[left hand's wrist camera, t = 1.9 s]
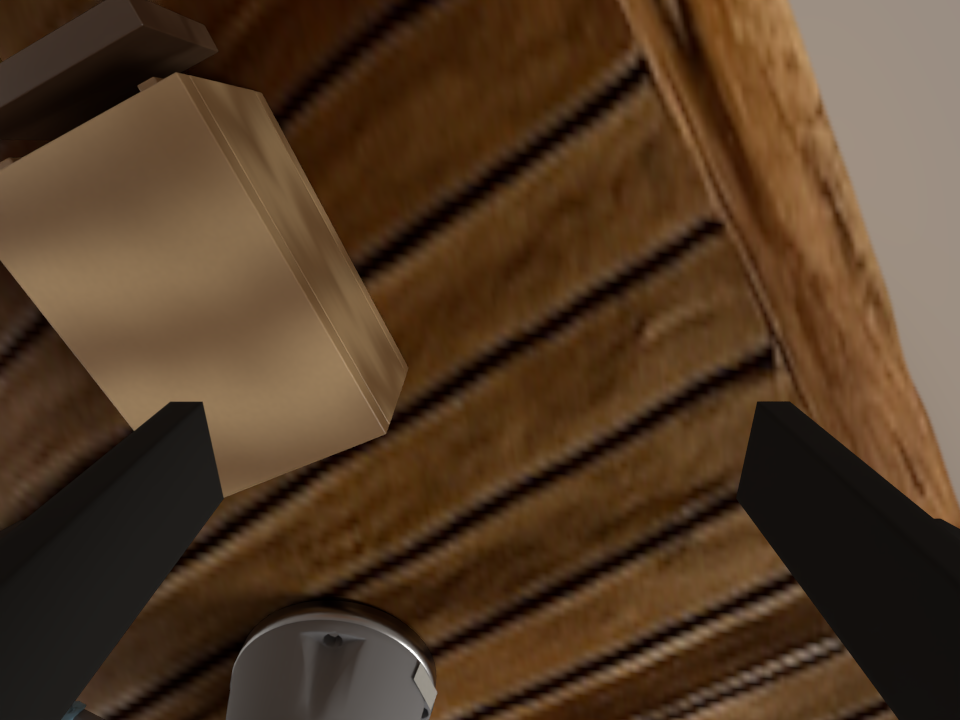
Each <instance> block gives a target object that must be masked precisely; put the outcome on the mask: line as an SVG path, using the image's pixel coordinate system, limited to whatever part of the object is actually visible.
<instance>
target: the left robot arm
mask: <svg viewBox="0 0 960 720" xmlns="http://www.w3.org/2000/svg"><path fill="white" fill-rule="evenodd" d="M223 499H224V497H223V492H222V488H221V483H220V479H219V474H218V469H217V465H216V460H215V456H214V451H213V446H212V442H211V437H210V433H209V428H208V424H207V419H206V414H205V410H204V405H203V402H169V403H168V404H167V405H166V406H164V407H163V408H162V409H161V410H159V411H158V412H157V413H156V414H154V415H153V416H152V417H151V418H150V419H148V420H147V421H146V422H145V423H143V424H142V425H141V426H140V427H138V428H137V429H136V430H135V431H134V432H132V433H131V434H130V435H129V436H127V437H126V438H125V439H124V440H122V441H121V442H120V443H119V444H118V445H116V446H115V447H114V448H113V449H111V450H110V451H109V452H108V453H106V454H105V455H104V456H103V457H102V458H100V459H99V460H98V461H97V462H95V463H94V464H93V465H92V466H91V467H89V468H88V469H87V470H86V471H84V472H83V473H82V474H81V475H79V476H78V477H77V478H76V479H75V480H73V481H72V482H71V483H70V484H68V485H67V486H66V487H65V488H63V489H62V490H61V491H60V492H59V493H57V494H56V495H55V496H54V497H52V498H51V499H50V500H49V501H47V502H46V503H45V504H44V505H43V506H41V507H40V508H39V509H38V510H36V511H35V512H34V513H33V514H32V515H30V516H29V517H28V518H27V519H25V520H24V521H18V522H17V523H15V524H13V525H11V526H9V527H7V528H5V529H4V530H2V531H0V720H105V719H103V718H101V717H99V716H97V715H95V714H93V713H91V712H89V711H87V710H85V709H84V708H85V707H86V705H85V704H83V703H81V702H80V701H75V700H76V699H77V697H78V696H79V695H80V693H81V692H82V691H83V689H84V688H85V687H86V685H87V684H88V682H89V681H90V680H91V678H92V677H93V676H94V674H95V673H96V672H97V670H98V669H99V668H100V666H101V665H102V663H103V662H104V661H105V659H106V658H107V657H108V655H109V654H110V653H111V651H112V650H113V648H114V647H115V646H116V644H117V643H118V642H119V640H120V639H121V638H122V636H123V635H124V633H125V632H126V631H127V629H128V628H129V627H130V625H131V624H132V623H133V621H134V620H135V619H136V617H137V616H138V614H139V613H140V612H141V610H142V609H143V608H144V606H145V605H146V604H147V602H148V601H149V599H150V598H151V597H152V595H153V594H154V593H155V591H156V590H157V589H158V587H159V586H160V584H161V583H162V582H163V580H164V579H165V578H166V576H167V575H168V574H169V572H170V571H171V570H172V568H173V567H174V565H175V564H176V563H177V561H178V560H179V559H180V557H181V556H182V555H183V553H184V552H185V550H186V549H187V548H188V546H189V545H190V544H191V542H192V541H193V540H194V538H195V537H196V535H197V534H198V533H199V531H200V530H201V529H202V527H203V526H204V525H205V523H206V522H207V521H208V519H209V518H210V516H211V515H212V514H213V512H214V511H215V510H216V508H217V507H218V506H219V504H220V503H221V501H222V500H223ZM736 499H737V500H738V501H739V503H740V504H741V506H742V507H743V508H744V510H745V511H746V512H747V514H748V515H749V516H750V518H751V519H752V521H753V522H754V523H755V525H756V526H757V527H758V529H759V530H760V531H761V533H762V534H763V535H764V537H765V538H766V540H767V541H768V542H769V544H770V545H771V546H772V548H773V549H774V550H775V552H776V553H777V555H778V556H779V557H780V559H781V560H782V561H783V563H784V564H785V565H786V567H787V568H788V570H789V571H790V572H791V574H792V575H793V576H794V578H795V579H796V580H797V582H798V583H799V584H800V586H801V587H802V589H803V590H804V591H805V593H806V594H807V595H808V597H809V598H810V599H811V601H812V602H813V604H814V605H815V606H816V608H817V609H818V610H819V612H820V613H821V614H822V616H823V617H824V619H825V620H826V621H827V623H828V624H829V625H830V627H831V628H832V629H833V631H834V632H835V633H836V635H837V636H838V638H839V639H840V640H841V642H842V643H843V644H844V646H845V647H846V648H847V650H848V651H849V653H850V654H851V655H852V657H853V658H854V659H855V661H856V662H857V663H858V665H859V666H860V668H861V669H862V670H863V672H864V673H865V674H866V676H867V677H868V678H869V680H870V681H871V682H872V684H873V685H874V687H875V688H876V689H877V691H878V692H879V693H880V695H881V696H882V697H883V699H884V700H885V702H886V703H887V704H888V706H889V707H890V708H891V710H892V711H893V712H894V714H895V715H896V717H897V718H898V719H899V720H960V529H959V528H957V527H955V526H953V525H951V524H950V523H948V522H946V521H944V520H942V519H933V518H932V517H931V516H930V515H928V514H927V513H926V512H925V511H924V510H922V509H921V508H920V507H919V506H917V505H916V504H915V503H914V502H913V501H911V500H910V499H909V498H908V497H906V496H905V495H904V494H903V493H901V492H900V491H899V490H898V489H897V488H895V487H894V486H893V485H892V484H890V483H889V482H888V481H887V480H885V479H884V478H883V477H882V476H881V475H879V474H878V473H877V472H876V471H874V470H873V469H872V468H871V467H869V466H868V465H867V464H866V463H865V462H863V461H862V460H861V459H860V458H858V457H857V456H856V455H855V454H854V453H852V452H851V451H850V450H849V449H847V448H846V447H845V446H844V445H842V444H841V443H840V442H839V441H838V440H836V439H835V438H834V437H833V436H831V435H830V434H829V433H828V432H826V431H825V430H824V429H823V428H822V427H820V426H819V425H818V424H817V423H815V422H814V421H813V420H812V419H810V418H809V417H808V416H807V415H806V414H804V413H803V412H802V411H801V410H799V409H798V408H797V407H796V406H794V405H793V404H792V403H791V402H757V405H756V410H755V414H754V419H753V424H752V428H751V433H750V437H749V442H748V446H747V451H746V456H745V460H744V465H743V469H742V474H741V479H740V483H739V488H738V492H737V497H736ZM435 686H436V668H435V663H434V660H433V657H432V655H431V653H430V651H429V649H428V647H427V646H426V644H425V643H424V642H423V640H422V639H421V638H420V637H419V636H418V635H417V634H416V633H415V632H414V631H413V630H412V629H411V628H410V627H408V626H407V625H406V624H404V623H403V622H401V621H400V620H398V619H397V618H395V617H393V616H391V615H389V614H387V613H385V612H383V611H380V610H378V609H375V608H372V607H369V606H366V605H362V604H357V603H353V602H346V601H335V600H320V601H310V602H304V603H299V604H295V605H291V606H288V607H285V608H283V609H281V610H278V611H276V612H274V613H272V614H271V615H269V616H267V617H266V618H265V619H263V620H262V621H261V622H260V623H259V624H257V625H256V626H255V627H254V629H253V630H252V631H251V632H250V634H249V635H248V637H247V639H246V641H245V643H244V645H243V647H242V649H241V651H240V653H239V655H238V657H237V660H236V662H235V664H234V667H233V671H232V677H231V683H230V696H229V702H228V708H227V715H226V720H429V718H430V715H431V712H432V710H433V705H434V701H435V698H436V695H437V691H436V689H435Z"/></svg>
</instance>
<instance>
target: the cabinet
mask: <svg viewBox="0 0 960 720" xmlns="http://www.w3.org/2000/svg"><path fill="white" fill-rule="evenodd" d="M0 260H1V262H2V263H3V264H4V265H5V267H6V268H7V269H8V271H9V272H10V273H11V274H12V276H13V277H14V278H15V279H16V281H17V282H18V283H19V285H20V286H21V287H22V288H23V290H24V291H25V292H26V293H27V295H28V296H29V297H30V299H31V300H32V301H33V302H34V304H35V305H36V306H37V308H38V309H39V310H40V311H41V313H42V314H43V315H44V316H45V318H46V319H47V320H48V322H49V323H50V324H51V325H52V327H53V328H54V329H55V330H56V332H57V333H58V334H59V336H60V337H61V338H62V339H63V341H64V342H65V343H66V345H67V346H68V347H69V348H70V350H71V351H72V352H73V353H74V355H75V356H76V357H77V359H78V360H79V361H80V362H81V364H82V365H83V366H84V367H85V369H86V370H87V371H88V373H89V374H90V375H91V376H92V378H93V379H94V380H95V382H96V383H97V384H98V385H99V387H100V388H101V389H102V390H103V392H104V393H105V394H106V396H107V397H108V398H109V399H110V401H111V402H112V403H113V404H114V406H115V407H116V408H117V410H118V411H119V412H120V413H121V415H122V416H123V417H124V419H125V420H126V421H127V422H128V424H129V425H130V426H131V427H132V429H133V430H134V431H135V430H136V429H137V428H138V427H140V426H141V425H142V424H143V423H145V422H146V421H147V420H148V419H150V418H151V417H152V416H153V415H154V414H156V413H157V412H158V411H159V410H161V409H162V408H163V407H164V406H166V405H167V404H168V403H169V402H203V405H204V410H205V414H206V419H207V424H208V428H209V433H210V437H211V442H212V446H213V451H214V456H215V460H216V465H217V469H218V474H219V479H220V483H221V488H222V492H223V497H227V496H229V495H232V494H234V493H237V492H239V491H242V490H244V489H247V488H249V487H252V486H255V485H257V484H260V483H262V482H265V481H267V480H270V479H272V478H275V477H278V476H280V475H283V474H285V473H288V472H290V471H293V470H295V469H298V468H300V467H303V466H306V465H308V464H311V463H313V462H316V461H318V460H321V459H323V458H326V457H328V456H331V455H334V454H336V453H339V452H341V451H344V450H346V449H349V448H351V447H354V446H356V445H359V444H362V443H364V442H367V441H369V440H372V439H374V438H377V437H379V436H382V435H384V434H386V433H387V430H388V427H389V424H390V421H391V418H392V415H393V413H394V410H395V407H396V404H397V401H398V398H399V395H400V392H401V389H402V386H403V383H404V380H405V377H406V373H407V371H408V366H407V364H406V363H405V361H404V359H403V357H402V355H401V353H400V351H399V349H398V348H397V346H396V344H395V342H394V340H393V338H392V336H391V334H390V333H389V331H388V329H387V327H386V325H385V323H384V321H383V319H382V318H381V316H380V314H379V312H378V310H377V308H376V306H375V304H374V303H373V301H372V299H371V297H370V295H369V293H368V291H367V289H366V288H365V286H364V284H363V282H362V280H361V278H360V276H359V274H358V273H357V271H356V269H355V267H354V265H353V263H352V261H351V259H350V258H349V256H348V254H347V252H346V250H345V248H344V246H343V244H342V243H341V241H340V239H339V237H338V235H337V233H336V231H335V229H334V228H333V226H332V224H331V222H330V220H329V218H328V216H327V214H326V213H325V211H324V209H323V207H322V205H321V203H320V201H319V199H318V198H317V196H316V194H315V192H314V190H313V188H312V186H311V184H310V183H309V181H308V179H307V177H306V175H305V173H304V171H303V169H302V168H301V166H300V164H299V162H298V160H297V158H296V156H295V154H294V153H293V151H292V149H291V147H290V145H289V143H288V141H287V139H286V138H285V136H284V134H283V132H282V130H281V128H280V126H279V124H278V123H277V121H276V119H275V117H274V115H273V113H272V111H271V109H270V108H269V106H268V104H267V102H266V100H265V98H264V96H263V94H262V93H261V92H257V91H254V90H250V89H246V88H241V87H237V86H233V85H229V84H225V83H220V82H216V81H212V80H208V79H204V78H199V77H195V76H191V75H186V74H182V73H178V72H175V73H173V74H172V75H170V76H168V77H166V78H164V79H163V80H161V81H159V82H157V83H155V84H154V85H152V86H150V87H148V88H146V89H145V90H143V91H141V92H139V93H137V94H136V95H134V96H132V97H130V98H128V99H127V100H125V101H123V102H121V103H119V104H118V105H116V106H114V107H112V108H110V109H109V110H107V111H105V112H103V113H101V114H100V115H98V116H96V117H94V118H92V119H91V120H89V121H87V122H85V123H84V124H82V125H80V126H78V127H76V128H75V129H73V130H71V131H69V132H67V133H66V134H64V135H62V136H60V137H58V138H57V139H55V140H53V141H51V142H49V143H48V144H46V145H44V146H42V147H40V148H39V149H37V150H35V151H33V152H31V153H30V154H28V155H26V156H24V157H22V158H21V159H19V160H17V161H15V162H13V163H12V164H10V165H8V166H6V167H4V168H3V169H1V170H0Z"/></svg>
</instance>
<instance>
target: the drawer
mask: <svg viewBox="0 0 960 720" xmlns="http://www.w3.org/2000/svg"><path fill="white" fill-rule="evenodd" d="M217 52H218V49H217V47H216V46H215V44H214V42H213V40H212V38H211V36H210V35H209V33H208V31H207V29H206V27H205V26H204V25H203V24H201V23H198V22H196V21H194V20H191V19H189V18H187V17H184V16H182V15H180V14H177V13H175V12H173V11H170V10H168V9H166V8H163V7H161V6H159V5H156V4H154V3H152V2H150V1H147V0H105V1H103V2H102V3H100V4H98V5H96V6H95V7H93V8H91V9H90V10H88V11H86V12H85V13H83V14H81V15H80V16H78V17H76V18H75V19H73V20H71V21H70V22H68V23H66V24H65V25H63V26H61V27H60V28H58V29H56V30H55V31H53V32H51V33H50V34H48V35H46V36H45V37H43V38H41V39H40V40H38V41H36V42H35V43H33V44H31V45H30V46H28V47H26V48H25V49H23V50H21V51H20V52H18V53H16V54H15V55H13V56H11V57H10V58H8V59H6V60H5V61H3V62H2V60H1V59H0V140H55V139H57V138H58V137H60V136H62V135H64V134H66V133H67V132H69V131H71V130H73V129H75V128H76V127H78V126H80V125H82V124H84V123H85V122H87V121H89V120H91V119H92V118H94V117H96V116H98V115H100V114H101V113H103V112H105V111H107V110H109V109H110V108H112V107H114V106H116V105H118V104H119V103H121V102H123V101H125V100H127V99H128V98H130V97H132V96H134V95H136V94H137V93H139V92H141V91H143V90H145V89H146V88H148V87H150V86H152V85H154V84H155V83H157V82H159V81H161V80H163V79H164V78H166V77H168V76H170V75H172V74H173V73H175V72H178V73H181V72H183V71H185V70H187V69H188V68H190V67H192V66H194V65H196V64H197V63H199V62H201V61H203V60H205V59H206V58H208V57H210V56H212V55H214V54H215V53H217ZM21 158H22V157H18V158H7V159H5V160H4V161H2V162H0V170H1V169H3V168H4V167H6V166H8V165H10V164H12V163H13V162H15V161H17V160H19V159H21Z"/></svg>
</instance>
